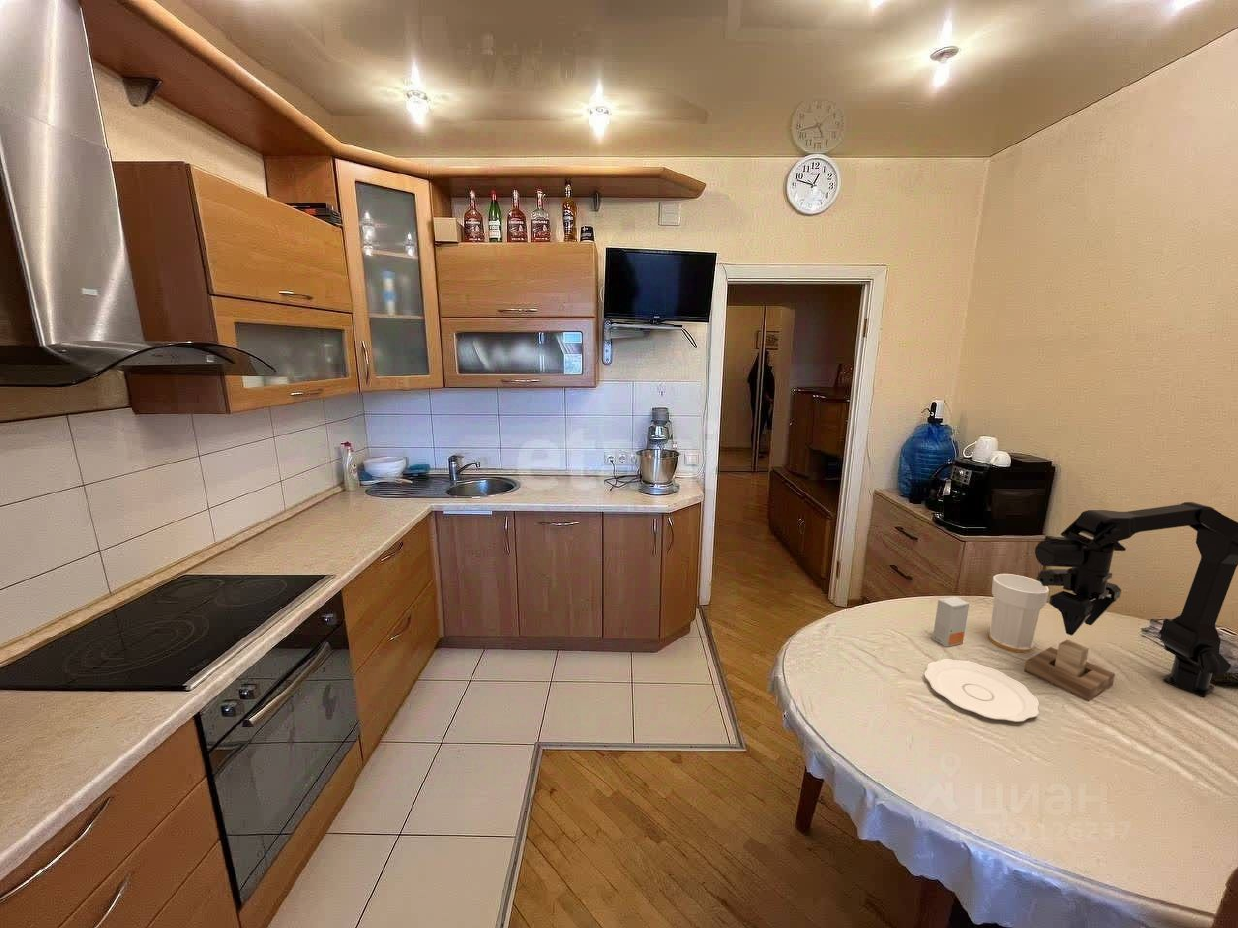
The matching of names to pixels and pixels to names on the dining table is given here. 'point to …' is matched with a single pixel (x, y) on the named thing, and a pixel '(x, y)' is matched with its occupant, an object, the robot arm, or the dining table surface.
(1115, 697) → the dining table surface
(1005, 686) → the plate
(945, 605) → the skincare box
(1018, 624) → the cup
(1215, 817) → the dining table surface
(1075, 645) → the maple peg
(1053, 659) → the socket block
